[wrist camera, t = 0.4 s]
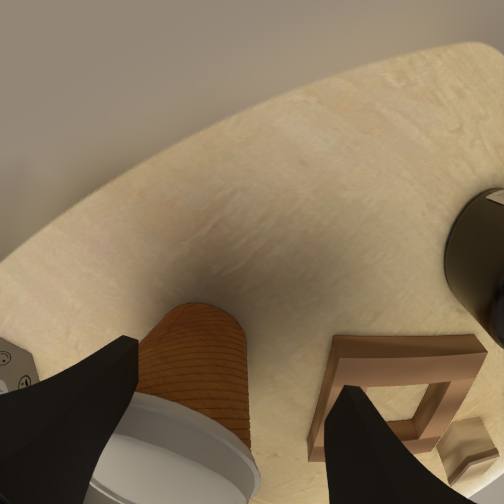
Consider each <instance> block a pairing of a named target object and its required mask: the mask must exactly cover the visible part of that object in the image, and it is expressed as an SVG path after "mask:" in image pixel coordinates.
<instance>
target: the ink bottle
mask: <svg viewBox="0 0 504 504" xmlns="http://www.w3.org/2000/svg"><path fill="white" fill-rule="evenodd" d="M445 267H446V275H447V280H448V283H449V286H450V288H451V290H452V292H453V294H454V296H455V297H456V298H457V300H458V301H459V302H460V303H461V304H462V305H463V306H464V307H465V308H466V309H467V310H468V312H469V313H470V314H471V315H472V316H473V317H474V318H475V319H476V320H477V322H478V323H479V324H480V325H481V326H482V327H483V328H484V329H485V331H486V332H487V333H488V334H489V335H490V336H491V337H492V339H493V340H494V341H495V342H496V343H497V344H498V345H499V346H500V347H501V348H503V349H504V189H503V188H496V189H492V190H489V191H486V192H484V193H483V194H481V195H480V196H478V197H477V198H476V199H475V200H473V201H472V202H471V203H470V205H469V206H468V207H467V208H466V209H465V211H464V212H463V213H462V215H461V216H460V218H459V220H458V221H457V223H456V225H455V227H454V229H453V232H452V234H451V237H450V240H449V243H448V247H447V251H446V260H445Z"/></svg>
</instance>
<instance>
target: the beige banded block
mask: <svg viewBox="0 0 504 504" xmlns="http://www.w3.org/2000/svg"><path fill="white" fill-rule="evenodd" d="M436 447H437V450H438V452H439V455H440V458H441V460H442V463H443V466H444V469H445V472H446V475H447V477H448V479H447V480H448V482H449V485H450V486H451V487H454V486H457V485H461V484H464V483H467V482H471V481H474V480H477V479H480V478H481V477H482V476H483V475H484V474H485V472H486V471H487V470H488V469H489V468H490V467H491V466H492V465H493V464H494V462H495V461H496V460H497V459H498V458H499V457H500V456H499V452H498V450H497V448H495V445H494V444H493V442H492V440H491V438H490V436H489V434H488V432H487V430H486V428H485V426H484V424H483V422H482V420H481V419H480V417H477V418H472V419H468V420H463V421H458V422H452V423H451V424H450V426H449V427H448V429H447V431H446V432H445V434H444V435H443V437H442V438H441V440H440V441H439V442H438V444H437V445H436Z"/></svg>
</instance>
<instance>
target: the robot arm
mask: <svg viewBox="0 0 504 504" xmlns="http://www.w3.org/2000/svg"><path fill="white" fill-rule="evenodd" d="M138 382H139V340H137V339H134V338H131V337H128V336H124V335H122V336H120V337H119V338H117V339H115V340H114V341H112V342H111V343H109V344H108V345H106V346H104V347H103V348H101V349H100V350H98V351H97V352H95V353H93V354H92V355H90V356H88V357H87V358H85V359H83V360H82V361H80V362H78V363H77V364H75V365H73V366H71V367H69V368H68V369H66V370H64V371H62V372H60V373H58V374H56V375H54V376H52V377H50V378H48V379H45V380H43V381H41V382H38V383H36V384H33V385H30V386H28V387H24V388H21V389H18V390H14V391H11V392H8V393H4V394H0V504H83V501H84V498H85V495H86V492H87V489H88V486H89V484H90V481H91V478H92V475H93V473H94V470H95V468H96V465H97V463H98V460H99V458H100V456H101V454H102V452H103V450H104V448H105V446H106V444H107V443H108V441H109V439H110V437H111V436H112V434H113V432H114V430H115V429H116V427H117V425H118V423H119V422H120V420H121V418H122V416H123V415H124V413H125V411H126V409H127V408H128V406H129V404H130V402H131V399H132V397H133V395H134V392H135V390H136V387H137V385H138ZM324 453H325V462H326V471H327V480H328V489H329V504H477V503H475V502H473V501H471V500H469V499H467V498H466V497H464V496H462V495H461V494H459V493H458V492H456V491H455V490H453V489H452V488H450V487H449V486H447V485H446V484H445V483H443V482H442V481H441V480H440V479H438V478H437V477H436V476H435V475H433V474H432V473H431V472H430V471H429V470H428V469H427V468H426V467H425V466H424V465H423V464H421V463H420V462H419V461H418V460H417V459H416V458H415V457H414V456H413V454H412V453H411V452H410V451H409V450H408V449H407V448H406V447H405V445H404V444H403V443H402V442H401V441H400V440H399V438H398V437H397V436H396V435H395V433H394V432H393V431H392V430H391V428H390V427H389V426H388V424H387V423H386V422H385V420H384V419H383V418H382V416H381V415H380V413H379V412H378V411H377V409H376V408H375V406H374V405H373V404H372V402H371V401H370V399H369V398H368V397H367V395H366V394H365V392H364V391H363V390H362V388H361V387H360V386H352V385H344V386H343V388H342V390H341V392H340V394H339V396H338V397H337V399H336V401H335V403H334V405H333V407H332V408H331V410H330V412H329V414H328V416H327V417H326V419H325V421H324Z"/></svg>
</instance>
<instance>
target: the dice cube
mask: <svg viewBox="0 0 504 504" xmlns="http://www.w3.org/2000/svg"><path fill="white" fill-rule="evenodd" d="M38 382H40V380H39V377H38V374H37V370H36V367H35V364H34V360H33V356H32V353H30V352H28V351H26V350H24V349H22V348H20V347H18V346H16V345H14V344H12V343H10V342H8V341H6V340H5V339H3V338H1V337H0V394H4V393H8V392H11V391H14V390H18V389H21V388H24V387H28V386H30V385H33V384H36V383H38Z"/></svg>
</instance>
